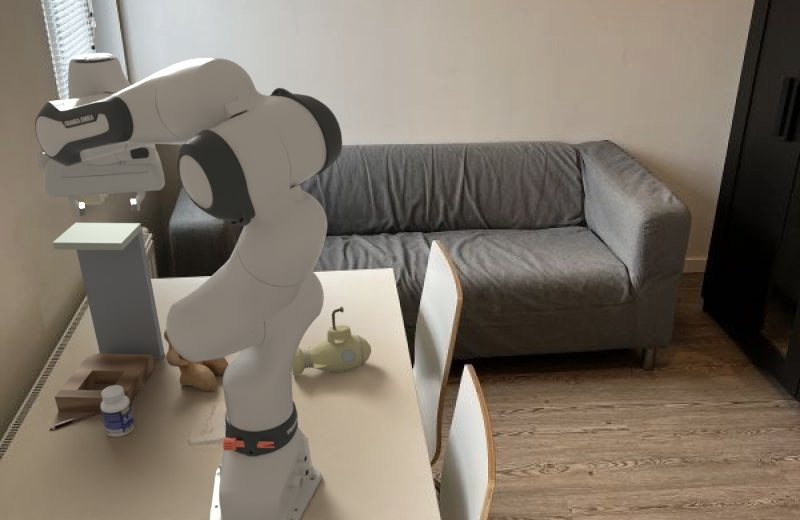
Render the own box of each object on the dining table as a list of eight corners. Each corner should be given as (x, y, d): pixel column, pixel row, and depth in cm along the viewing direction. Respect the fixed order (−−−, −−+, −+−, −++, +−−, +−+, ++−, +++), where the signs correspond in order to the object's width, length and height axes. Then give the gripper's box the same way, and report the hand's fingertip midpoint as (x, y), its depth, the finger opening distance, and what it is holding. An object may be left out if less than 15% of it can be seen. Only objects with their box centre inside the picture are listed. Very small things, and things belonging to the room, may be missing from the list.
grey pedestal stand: (148, 378, 165) (121, 243, 152) (84, 377, 166) (52, 242, 153) (164, 353, 174) (140, 223, 161) (104, 352, 175) (75, 222, 162)
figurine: (216, 396, 159) (183, 337, 153) (178, 403, 162) (145, 345, 156) (235, 365, 168) (205, 308, 162) (199, 373, 171) (168, 317, 165)
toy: (375, 374, 165) (373, 313, 158) (295, 388, 161) (288, 325, 155) (367, 353, 172) (364, 294, 166) (289, 366, 169) (283, 305, 162)
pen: (50, 432, 150) (49, 428, 150) (49, 430, 151) (48, 426, 150) (109, 411, 156) (108, 407, 155) (108, 409, 156) (107, 405, 156)
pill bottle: (131, 436, 148) (122, 398, 144) (103, 438, 147) (93, 400, 144) (137, 419, 152) (129, 382, 149) (110, 421, 152) (101, 383, 148)
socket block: (125, 413, 154) (122, 398, 153) (58, 411, 156) (54, 396, 154) (154, 368, 169) (152, 354, 167) (92, 366, 170) (89, 353, 168)
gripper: (36, 156, 128) (47, 226, 136) (164, 149, 136) (167, 215, 144) (36, 138, 133) (46, 207, 141) (159, 133, 141) (163, 198, 148)
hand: (108, 211), depth 142 cm, fingers open, 8 cm apart
